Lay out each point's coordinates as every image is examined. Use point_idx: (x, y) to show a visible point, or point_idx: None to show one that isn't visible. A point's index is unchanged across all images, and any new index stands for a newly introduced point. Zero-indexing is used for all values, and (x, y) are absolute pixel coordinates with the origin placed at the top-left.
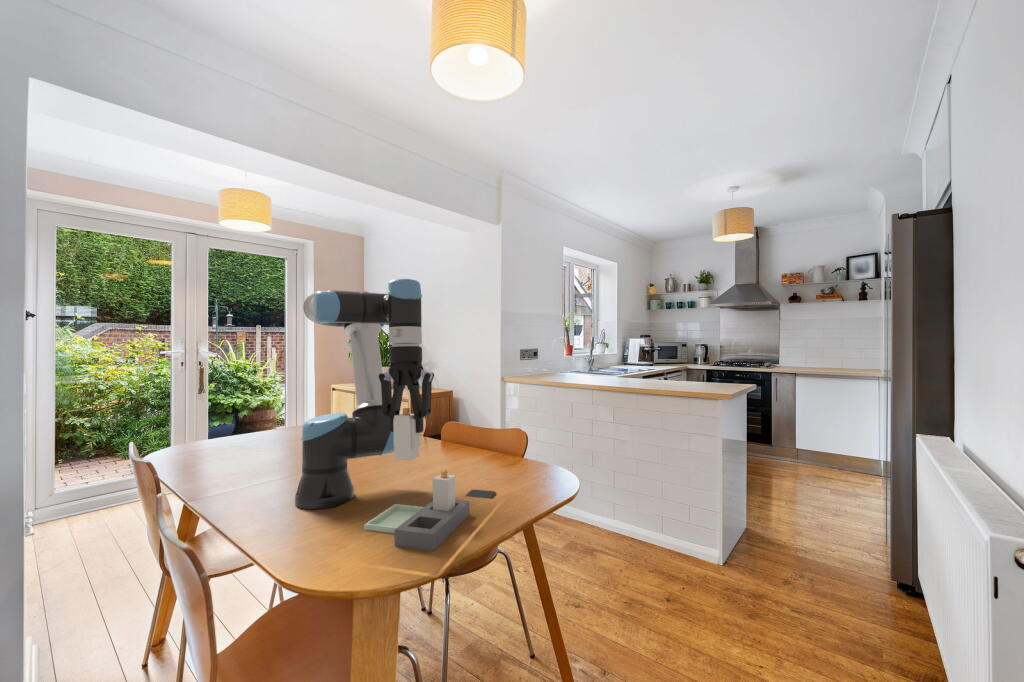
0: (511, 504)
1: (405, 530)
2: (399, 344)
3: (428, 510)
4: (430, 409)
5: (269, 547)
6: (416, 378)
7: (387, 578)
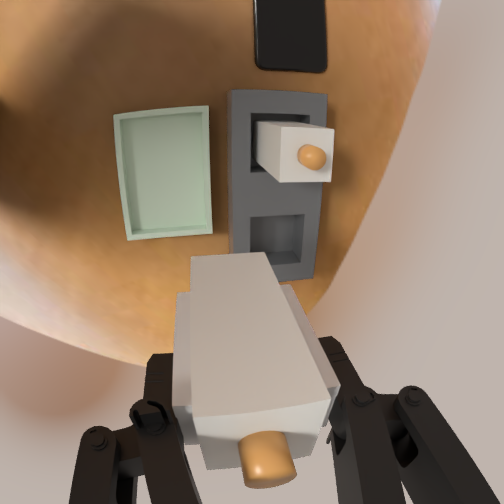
0: (373, 19)
1: None
2: None
3: (254, 180)
4: (431, 411)
5: (49, 321)
6: None
7: None
